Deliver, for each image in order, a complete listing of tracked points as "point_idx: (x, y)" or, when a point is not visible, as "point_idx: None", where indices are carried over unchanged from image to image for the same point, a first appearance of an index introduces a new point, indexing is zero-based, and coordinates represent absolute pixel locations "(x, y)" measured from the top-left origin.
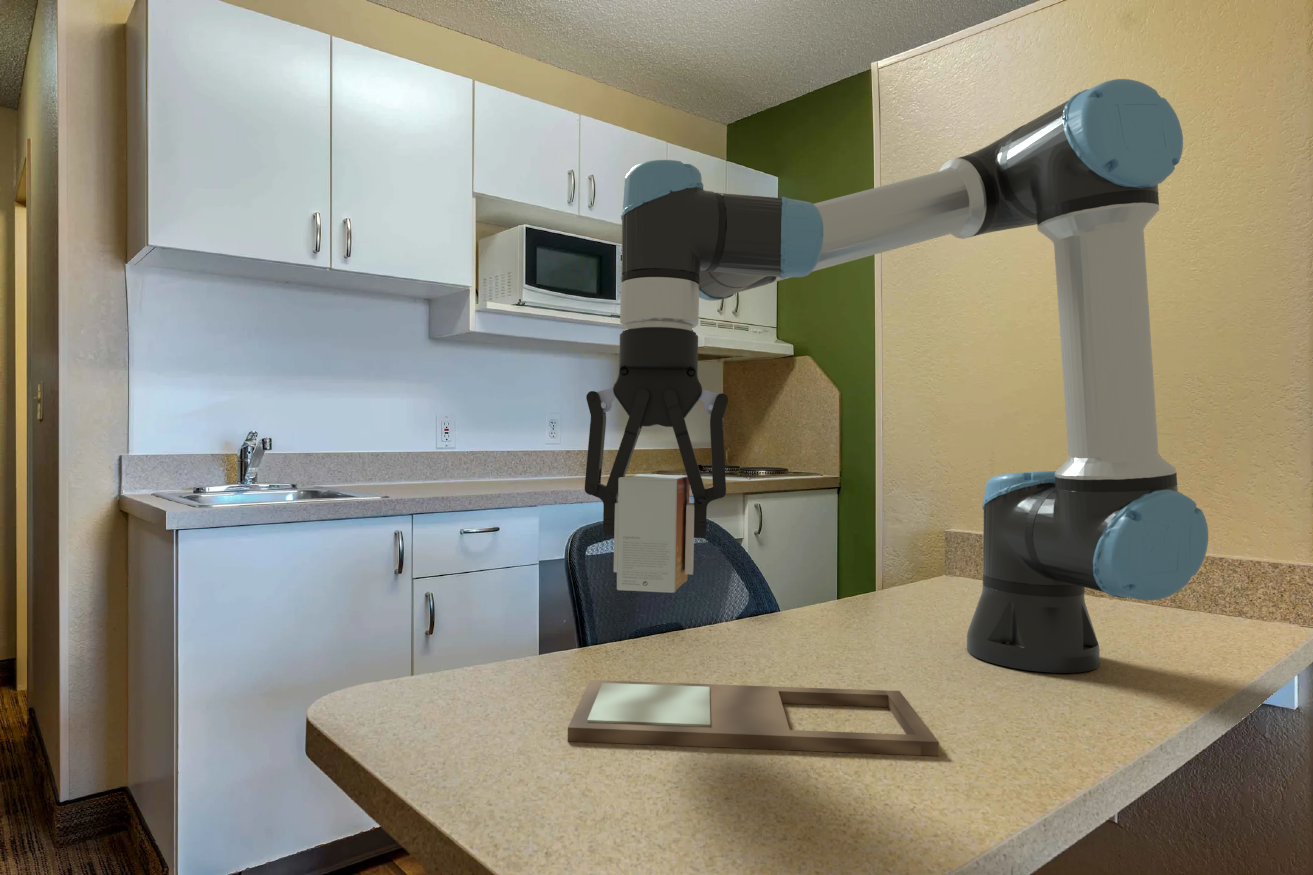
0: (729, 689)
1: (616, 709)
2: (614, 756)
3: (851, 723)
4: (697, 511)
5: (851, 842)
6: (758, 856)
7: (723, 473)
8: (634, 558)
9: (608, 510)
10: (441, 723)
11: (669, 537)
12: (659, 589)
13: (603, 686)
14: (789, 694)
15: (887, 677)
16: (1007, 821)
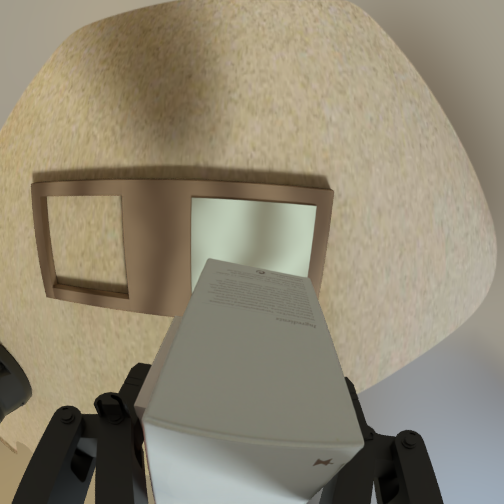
0: (173, 304)
1: (287, 237)
2: (285, 153)
3: (80, 246)
4: (134, 403)
5: (119, 33)
6: (181, 6)
7: (41, 447)
8: (284, 297)
9: None
10: (432, 233)
11: (202, 307)
12: (234, 264)
13: None
14: (121, 297)
15: (62, 347)
16: (33, 87)
